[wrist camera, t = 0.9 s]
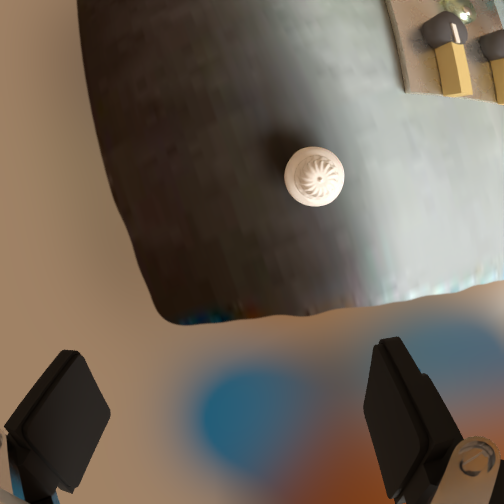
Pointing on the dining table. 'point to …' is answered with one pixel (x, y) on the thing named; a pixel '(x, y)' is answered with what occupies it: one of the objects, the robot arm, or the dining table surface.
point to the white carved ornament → (314, 176)
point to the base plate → (423, 55)
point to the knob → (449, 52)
